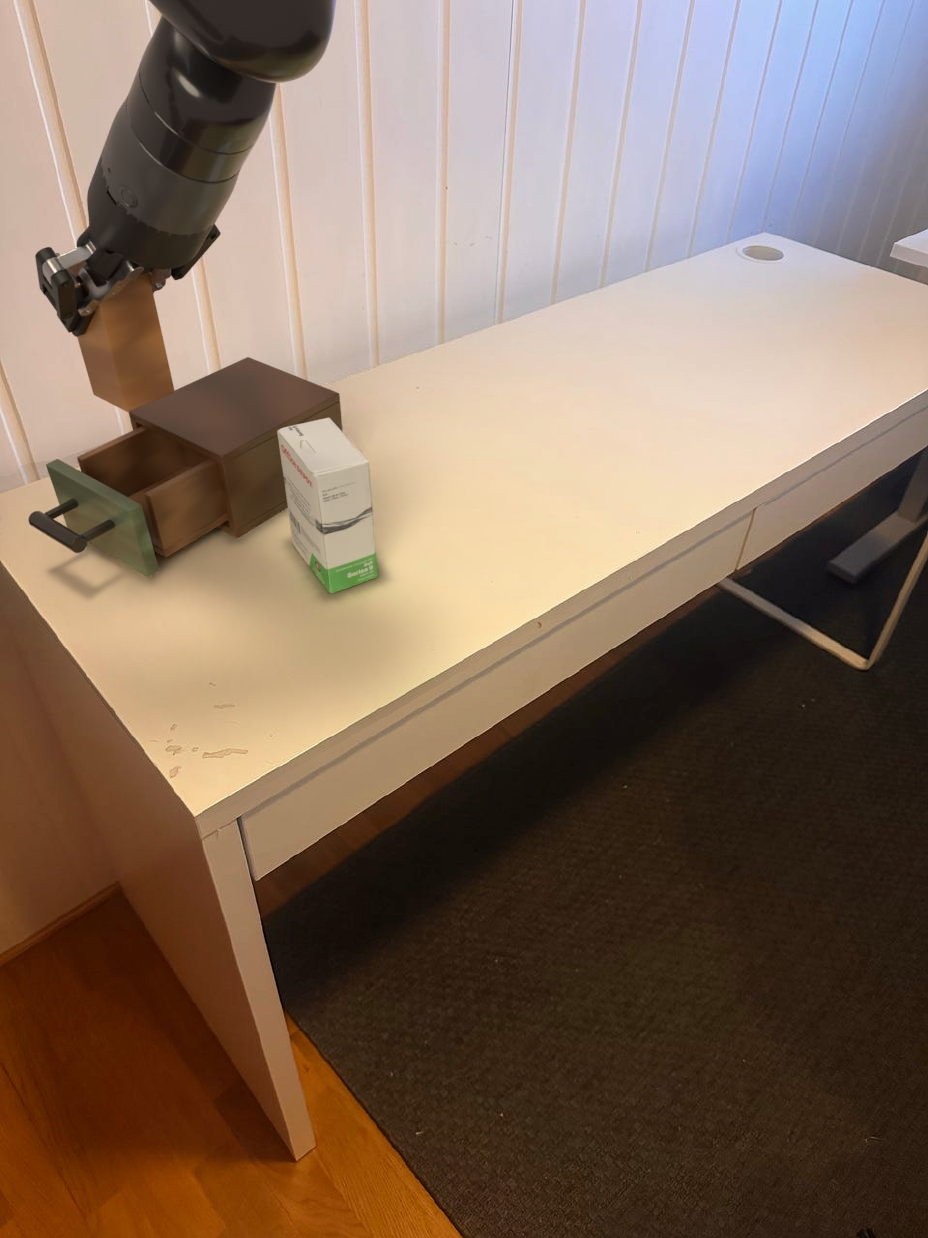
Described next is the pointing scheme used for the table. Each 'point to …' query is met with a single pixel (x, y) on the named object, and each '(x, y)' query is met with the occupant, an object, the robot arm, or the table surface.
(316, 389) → the cabinet
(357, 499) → the ink box
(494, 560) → the table surface
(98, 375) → the brown wooden block
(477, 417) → the table surface
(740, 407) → the table surface
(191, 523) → the drawer
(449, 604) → the table surface
